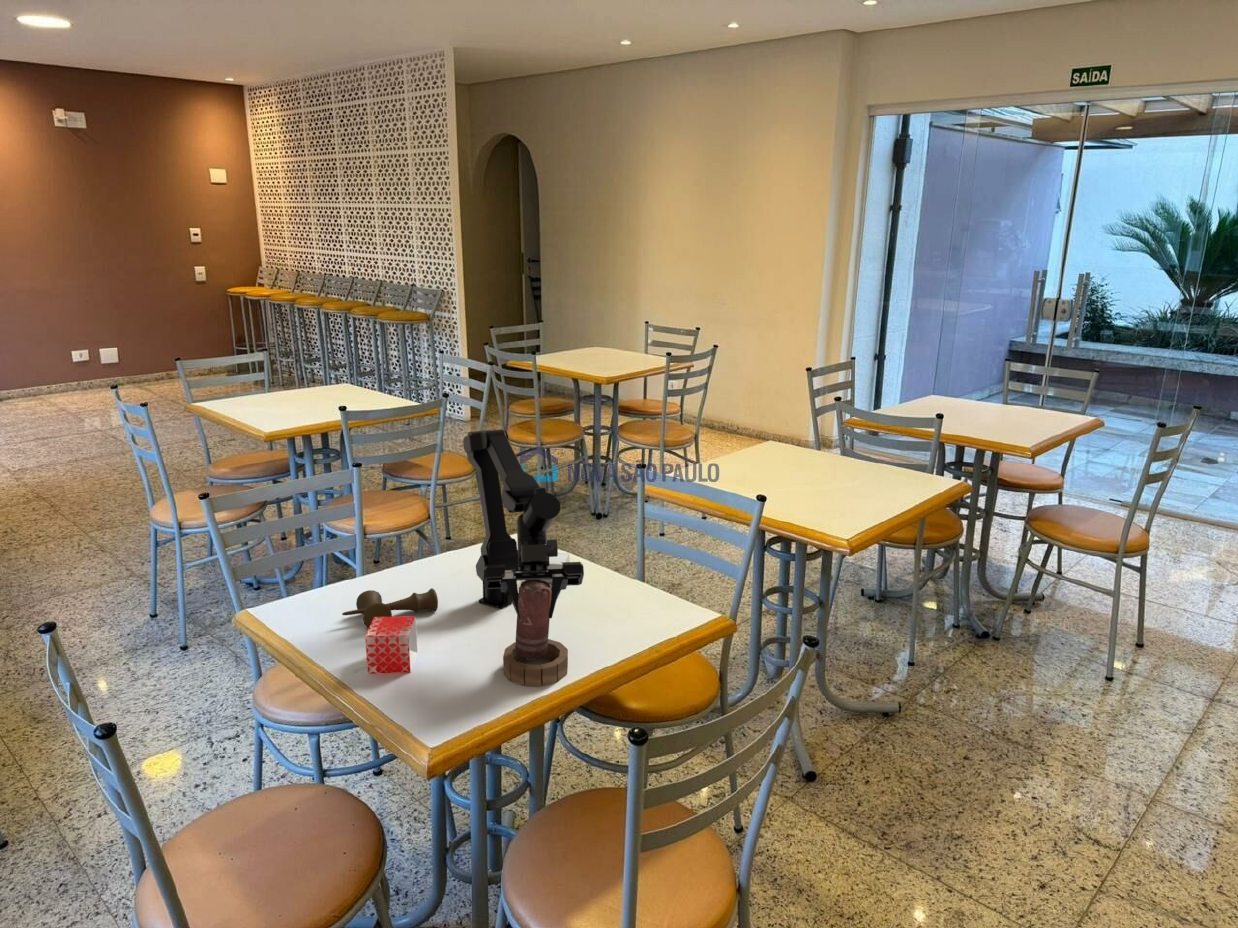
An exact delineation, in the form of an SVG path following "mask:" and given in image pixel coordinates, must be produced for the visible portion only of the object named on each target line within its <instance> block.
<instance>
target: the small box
mask: <svg viewBox="0 0 1238 928" xmlns="http://www.w3.org/2000/svg"><path fill="white" fill-rule="evenodd" d="M570 556H571V555H570V552H558V556H557V557H549V566H548V569H561V568H562V562H571V561H570V560H571V559H570ZM543 581H546V582H547V583H549V584H552V579H544V580H543Z"/></svg>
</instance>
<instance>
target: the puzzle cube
mask: <svg viewBox="0 0 1238 928" xmlns="http://www.w3.org/2000/svg"><path fill="white" fill-rule="evenodd" d="M417 637H418V636H417V619H416V616H414V615H413V616H410V615H409V616H407V615H406V616H392V617H374V619H373V621H372V623H371V625H370V627H369V629H367V631H366V633H365V636H364V638H365V639H364V640H365V651H366V665H367V667H366V669H367V674H368V675H373V674H376V675H377V674H411V672H412V669H413V667H414V664H415V660H416V659H417V658H416V657H417V655H418V640H417Z"/></svg>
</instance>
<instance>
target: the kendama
mask: <svg viewBox="0 0 1238 928" xmlns="http://www.w3.org/2000/svg"><path fill="white" fill-rule="evenodd" d="M382 598H383V597H382V595H381V594H380V592H378V591H376V590H368V589H367V590H366V591H362V592H361V593H360V594H359V595H358V597H357V598H356V602H355V603H356V604H355V605H356V608H357V609H353V610H348V611H345V612H342V613H341V614H342V616H352V615H360V614H362V622H363V625H364V626H365V628H366V629H367V630H368V629H369V627H370V625H371V623H372V621H373V619H374V617H393V614H392V611H411V612H414V613H416V614H417V613H419V612H421V611H424V610H427V611H432V612H434V613H435V612H437V611H438V607H439V605H438V604H439V598H438V594H437V592H436V590H435V589H434V588H432V587H431V588H430V589H429V590H428V591H426V592H424V593H416V592H413V593H412V594H411V595H410V596H408V597H405V598H402V599H399V600H395V601H391V602H388V603H383V599H382Z"/></svg>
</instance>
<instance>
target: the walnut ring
mask: <svg viewBox="0 0 1238 928" xmlns="http://www.w3.org/2000/svg"><path fill="white" fill-rule="evenodd" d="M515 642H516V641H515ZM515 642H513V643H512V644H510V645H508V646H507V647H506V648H504V653H503V656H502V657H503V658H502V659H503V662H502V667H503V671H502V672H503V675H504V676H505V677H506V679H507V680H508V681H510V682H512V683H514V684H516V685H520V686H523V687H524V686H525V687H545V686H549V685H552V684H555V683H558V682H559V681H561V680H562V679H563V678H565V677H566V676H567V674H568V670H569V669H568V668H569V661H568V660H569V650H568V648H567V647H566V646H565V645H564V644H563V643H562V642H560V641H558V640H554V639H550V638H548V648H547V653H546V654H545V656H544V657H542V658H541V659H546V660H549V661H550V662H546V663H542V664H525V663H523V662H522V661H525V660H526V661H527V659H523V658H521V657H519V656H518V655H517V653H516V652H515Z"/></svg>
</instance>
